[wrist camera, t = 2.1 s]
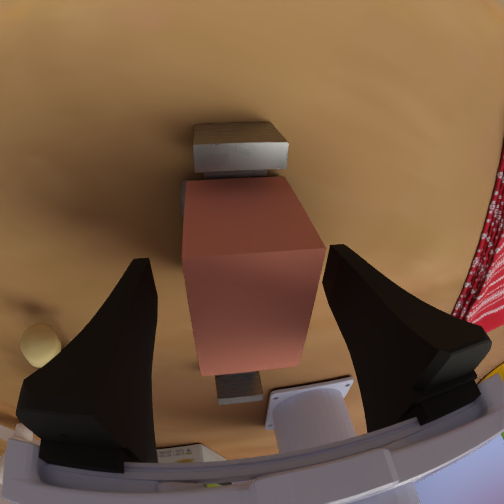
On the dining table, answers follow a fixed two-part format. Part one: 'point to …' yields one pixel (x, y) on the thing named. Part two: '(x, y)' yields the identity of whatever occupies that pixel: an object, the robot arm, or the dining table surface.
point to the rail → (238, 166)
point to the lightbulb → (20, 434)
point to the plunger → (40, 344)
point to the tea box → (190, 457)
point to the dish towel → (487, 268)
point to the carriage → (248, 272)
